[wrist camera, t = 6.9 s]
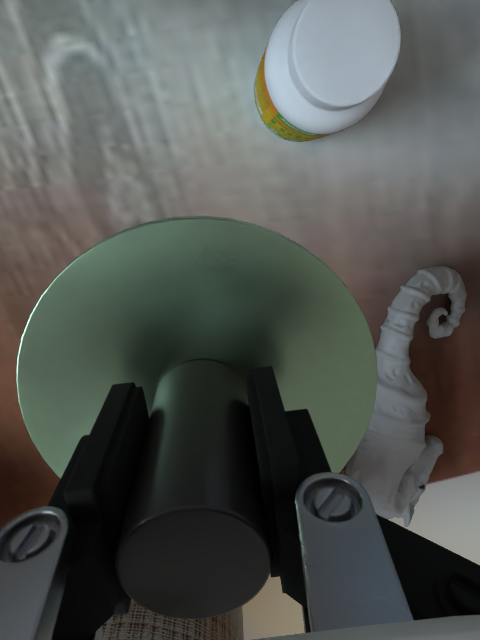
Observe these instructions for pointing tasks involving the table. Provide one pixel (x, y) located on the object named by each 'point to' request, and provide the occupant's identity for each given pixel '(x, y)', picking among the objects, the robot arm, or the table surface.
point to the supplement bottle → (326, 66)
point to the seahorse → (404, 400)
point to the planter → (172, 626)
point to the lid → (195, 389)
